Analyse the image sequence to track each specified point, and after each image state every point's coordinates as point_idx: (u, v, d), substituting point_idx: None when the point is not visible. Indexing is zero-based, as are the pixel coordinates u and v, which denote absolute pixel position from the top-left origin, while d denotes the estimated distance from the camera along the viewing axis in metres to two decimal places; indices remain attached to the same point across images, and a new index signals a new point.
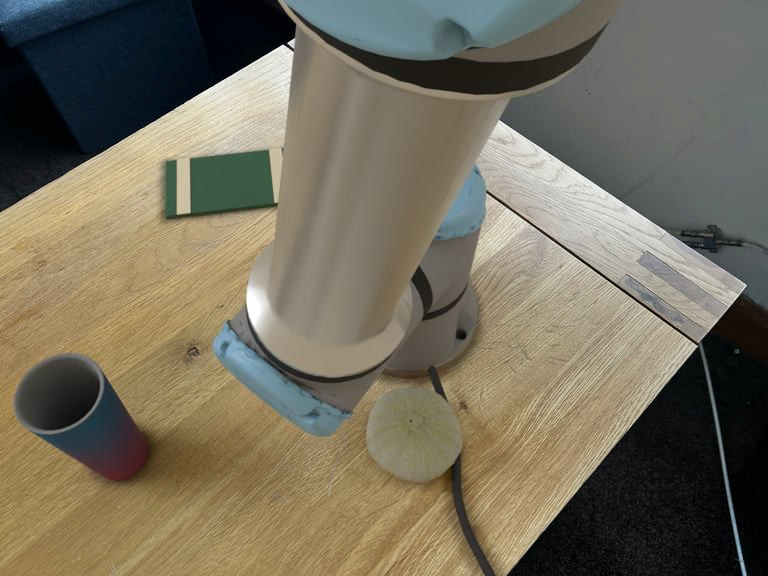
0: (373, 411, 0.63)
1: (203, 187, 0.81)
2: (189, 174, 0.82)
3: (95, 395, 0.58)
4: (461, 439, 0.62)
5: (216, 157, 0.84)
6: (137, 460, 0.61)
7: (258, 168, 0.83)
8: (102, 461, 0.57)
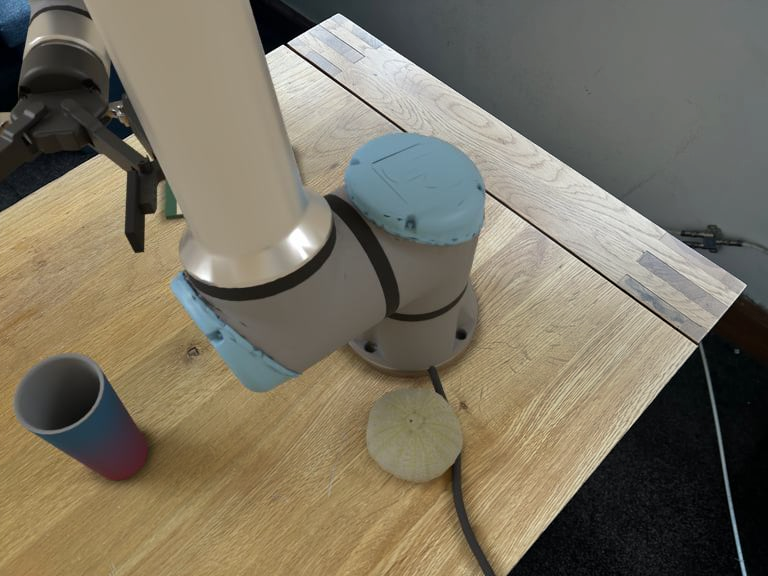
0: (373, 411, 0.63)
1: None
2: None
3: (95, 395, 0.58)
4: (461, 439, 0.62)
5: None
6: (137, 460, 0.61)
7: None
8: (102, 461, 0.57)
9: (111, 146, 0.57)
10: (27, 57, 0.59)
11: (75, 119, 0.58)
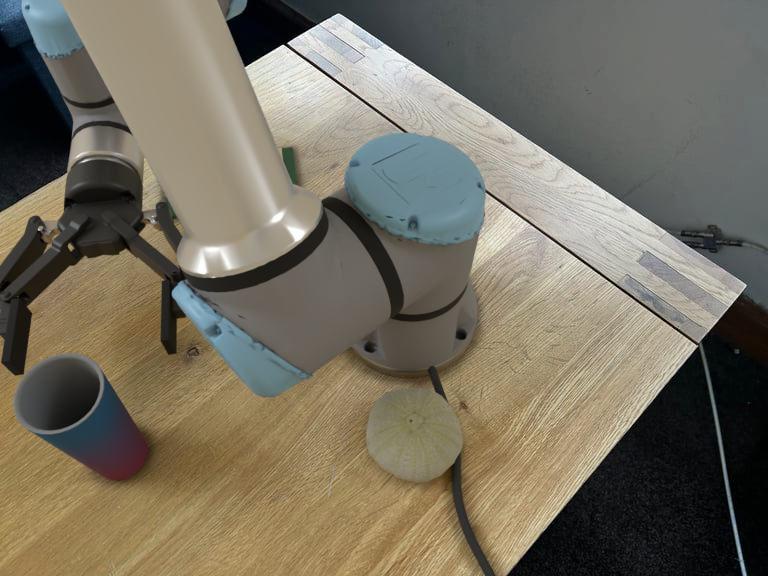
0: (373, 411, 0.63)
1: None
2: None
3: (95, 395, 0.58)
4: (461, 439, 0.62)
5: None
6: (137, 460, 0.61)
7: None
8: (102, 461, 0.57)
9: (147, 255, 0.64)
10: (72, 172, 0.67)
11: (115, 229, 0.65)
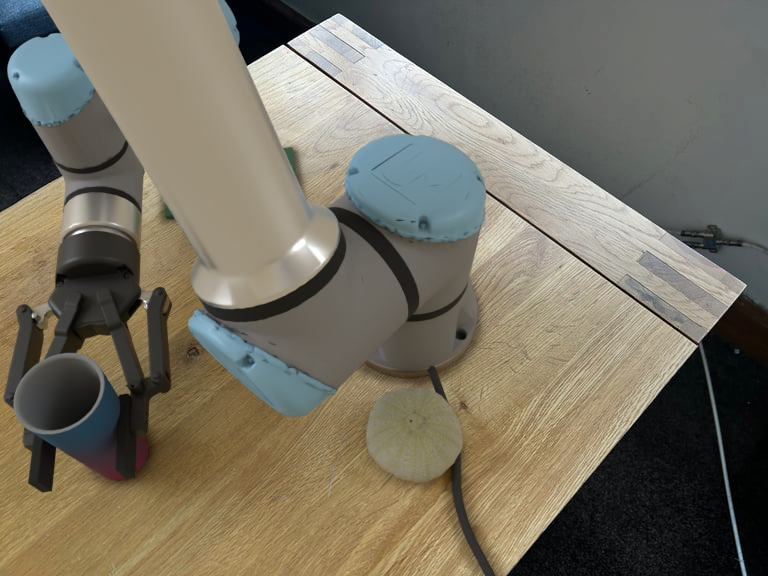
0: (373, 411, 0.63)
1: None
2: None
3: (95, 395, 0.58)
4: (461, 439, 0.62)
5: None
6: (137, 460, 0.61)
7: None
8: (102, 461, 0.57)
9: (119, 352, 0.58)
10: (64, 245, 0.62)
11: None
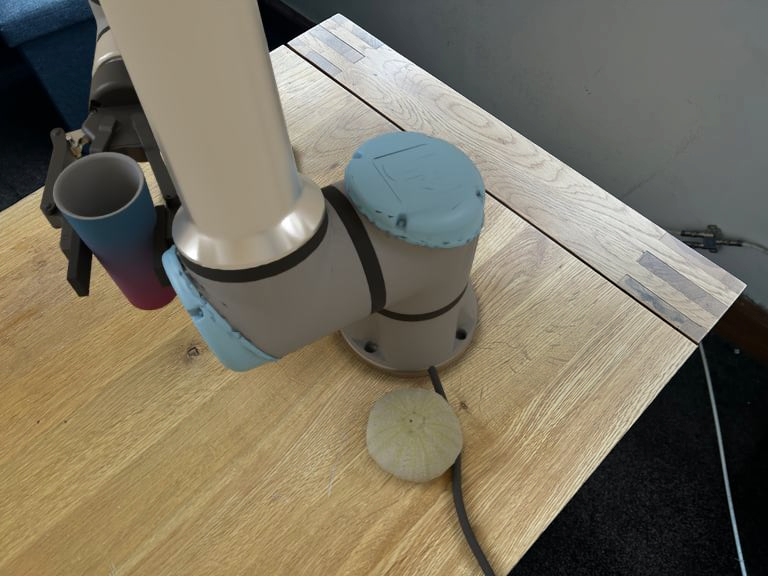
0: (373, 411, 0.63)
1: None
2: None
3: None
4: (461, 439, 0.62)
5: None
6: (170, 288, 0.61)
7: None
8: (137, 275, 0.57)
9: (154, 170, 0.58)
10: (98, 72, 0.62)
11: None
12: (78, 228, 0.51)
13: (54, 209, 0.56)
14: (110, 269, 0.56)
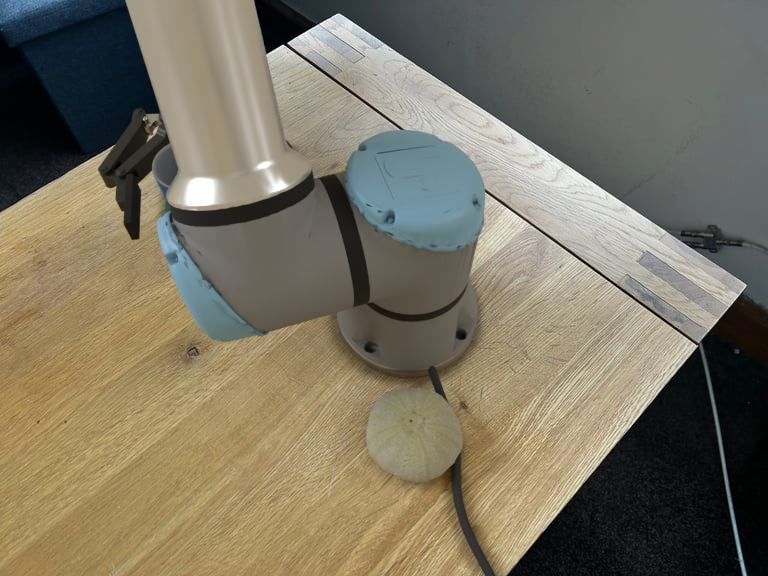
0: (373, 411, 0.63)
1: None
2: None
3: None
4: (461, 439, 0.62)
5: None
6: None
7: None
8: None
9: None
10: None
11: None
12: None
13: (108, 173, 0.69)
14: None
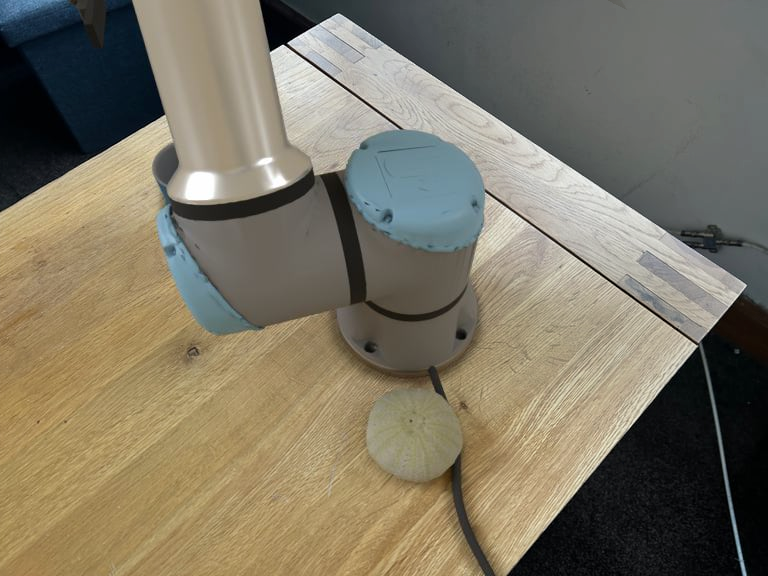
0: (373, 411, 0.63)
1: None
2: None
3: None
4: (461, 439, 0.62)
5: None
6: None
7: None
8: None
9: None
10: None
11: None
12: None
13: None
14: None
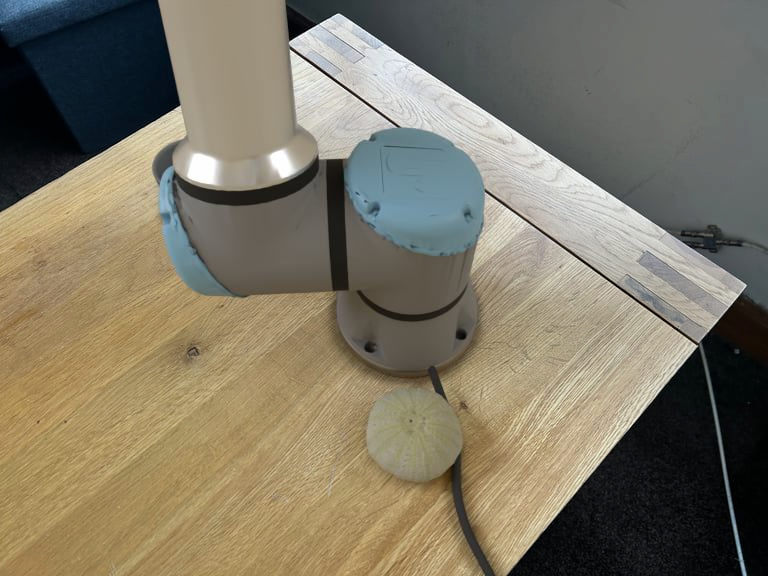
0: (373, 411, 0.63)
1: None
2: None
3: None
4: (461, 439, 0.62)
5: None
6: None
7: None
8: None
9: None
10: None
11: None
12: None
13: None
14: None
